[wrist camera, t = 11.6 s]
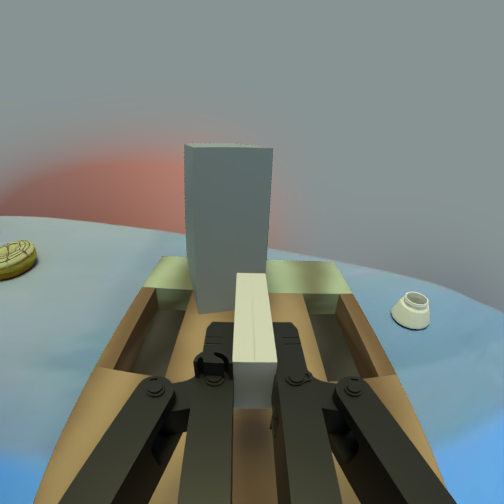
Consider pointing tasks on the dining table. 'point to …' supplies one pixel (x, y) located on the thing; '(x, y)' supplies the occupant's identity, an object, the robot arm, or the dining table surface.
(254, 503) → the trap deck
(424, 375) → the dining table surface
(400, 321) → the white jar
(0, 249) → the decorated donut
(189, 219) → the grey block
